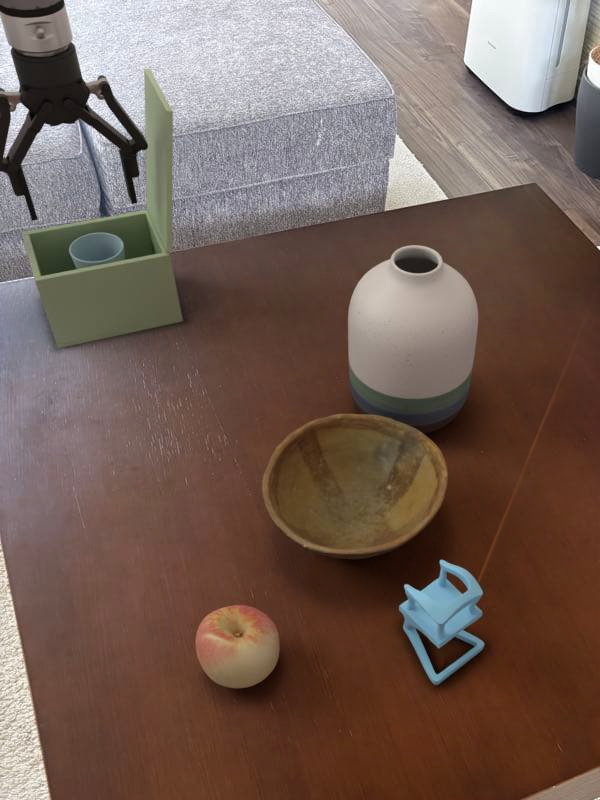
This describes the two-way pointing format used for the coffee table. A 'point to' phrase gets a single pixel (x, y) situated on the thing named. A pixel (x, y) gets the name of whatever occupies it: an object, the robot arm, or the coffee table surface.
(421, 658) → the chair
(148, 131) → the lid
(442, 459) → the bowl
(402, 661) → the coffee table surface
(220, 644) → the apple
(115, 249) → the cup
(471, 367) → the vase
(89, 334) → the chest
